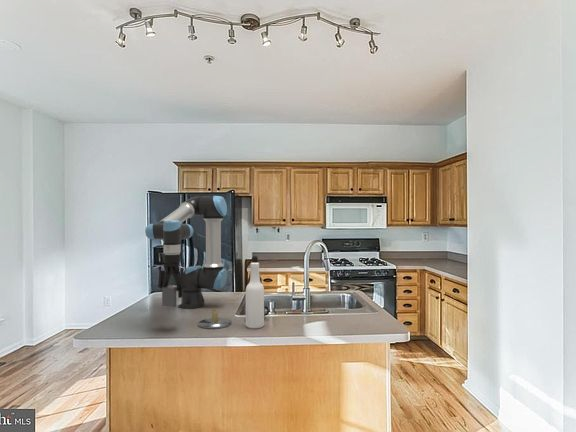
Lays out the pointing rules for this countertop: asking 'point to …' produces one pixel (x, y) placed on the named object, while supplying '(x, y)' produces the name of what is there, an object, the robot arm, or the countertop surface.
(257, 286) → the alcohol
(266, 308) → the mug
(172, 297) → the knob
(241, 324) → the countertop surface
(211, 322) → the hub
